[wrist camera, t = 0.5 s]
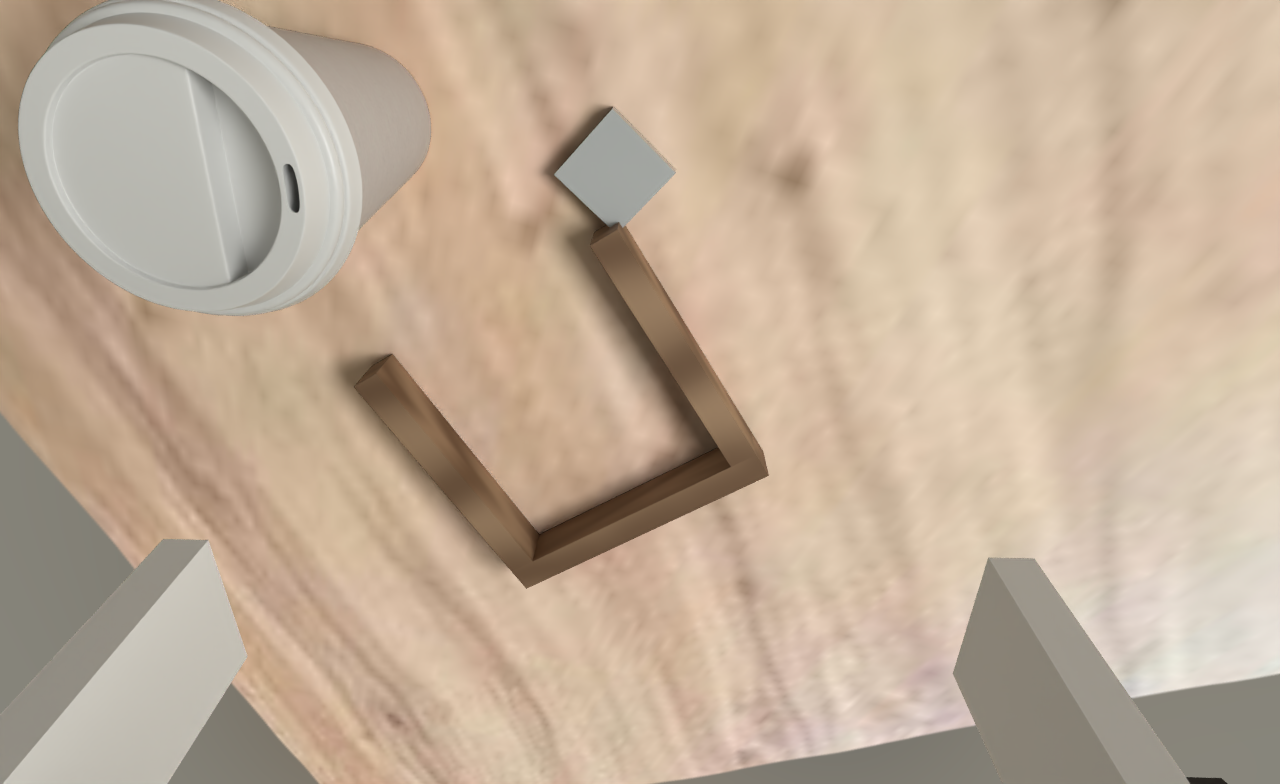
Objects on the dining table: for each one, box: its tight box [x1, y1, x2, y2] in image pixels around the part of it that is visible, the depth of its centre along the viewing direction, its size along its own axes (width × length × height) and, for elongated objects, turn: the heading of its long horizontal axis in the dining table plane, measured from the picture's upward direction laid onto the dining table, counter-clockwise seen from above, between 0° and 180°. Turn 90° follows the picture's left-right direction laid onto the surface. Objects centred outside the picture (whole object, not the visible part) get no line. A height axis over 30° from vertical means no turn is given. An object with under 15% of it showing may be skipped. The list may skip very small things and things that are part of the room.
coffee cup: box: [18, 0, 431, 316], centre depth 27 cm, size 10×10×15 cm
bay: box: [354, 222, 769, 589], centre depth 39 cm, size 16×16×2 cm
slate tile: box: [554, 107, 676, 228], centre depth 34 cm, size 4×4×1 cm
